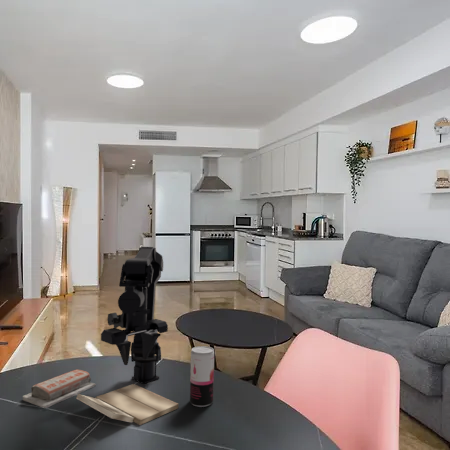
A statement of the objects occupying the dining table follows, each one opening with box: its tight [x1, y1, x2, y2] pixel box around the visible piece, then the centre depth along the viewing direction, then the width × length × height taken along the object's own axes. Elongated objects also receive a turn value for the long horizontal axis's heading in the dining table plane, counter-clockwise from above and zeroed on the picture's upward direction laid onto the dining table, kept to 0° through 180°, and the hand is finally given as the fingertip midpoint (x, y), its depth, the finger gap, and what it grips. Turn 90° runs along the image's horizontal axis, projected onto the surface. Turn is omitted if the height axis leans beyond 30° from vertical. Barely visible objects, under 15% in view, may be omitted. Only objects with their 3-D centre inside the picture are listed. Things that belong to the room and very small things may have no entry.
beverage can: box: [189, 345, 215, 408], centre depth 119 cm, size 6×6×15 cm
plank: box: [76, 393, 134, 423], centre depth 109 cm, size 7×16×1 cm, turn 49°
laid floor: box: [95, 383, 180, 426], centre depth 117 cm, size 13×20×1 cm, turn 49°
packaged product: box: [22, 369, 97, 409], centre depth 123 cm, size 18×5×10 cm
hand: (135, 361), depth 116 cm, fingers open, 6 cm apart
